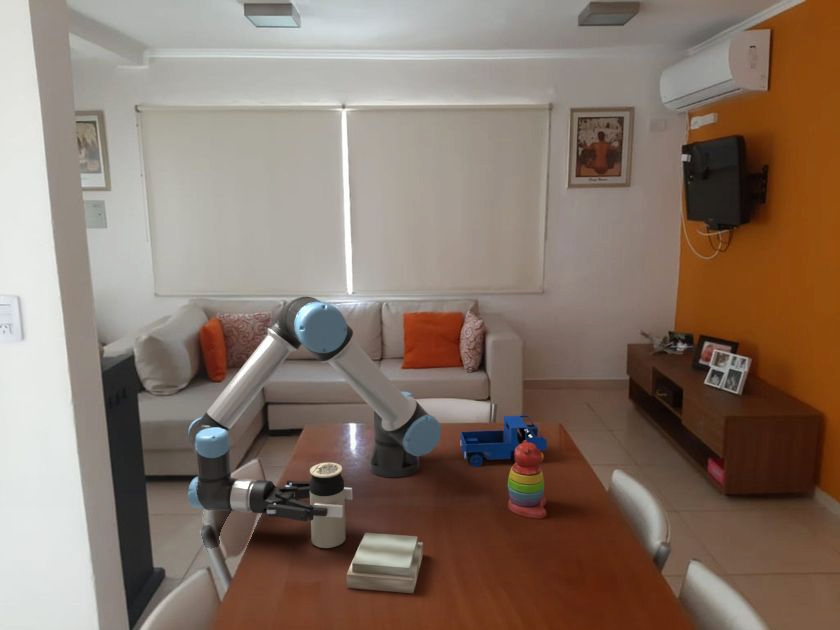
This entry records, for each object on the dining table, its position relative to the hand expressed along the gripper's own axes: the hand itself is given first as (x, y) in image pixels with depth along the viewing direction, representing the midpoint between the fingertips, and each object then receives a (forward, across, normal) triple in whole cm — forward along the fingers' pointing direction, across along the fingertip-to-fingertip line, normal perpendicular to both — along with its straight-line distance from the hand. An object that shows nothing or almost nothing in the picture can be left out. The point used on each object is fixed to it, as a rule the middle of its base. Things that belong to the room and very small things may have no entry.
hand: (347, 502), depth 140 cm
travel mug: (-5, 0, -10) cm, 11 cm away
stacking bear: (+42, -22, -10) cm, 49 cm away
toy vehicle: (+35, -53, -10) cm, 65 cm away
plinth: (+11, +10, -10) cm, 18 cm away
